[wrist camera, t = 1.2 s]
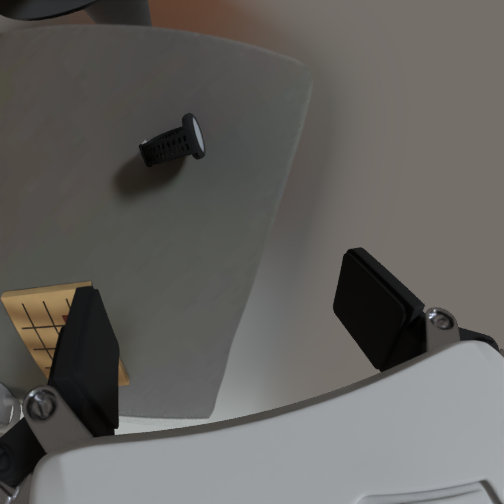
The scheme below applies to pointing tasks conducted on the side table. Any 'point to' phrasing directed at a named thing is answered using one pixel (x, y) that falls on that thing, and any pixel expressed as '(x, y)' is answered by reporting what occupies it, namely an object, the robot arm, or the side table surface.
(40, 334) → the board
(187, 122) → the smartwatch
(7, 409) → the mug
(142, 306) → the side table surface
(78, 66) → the side table surface
